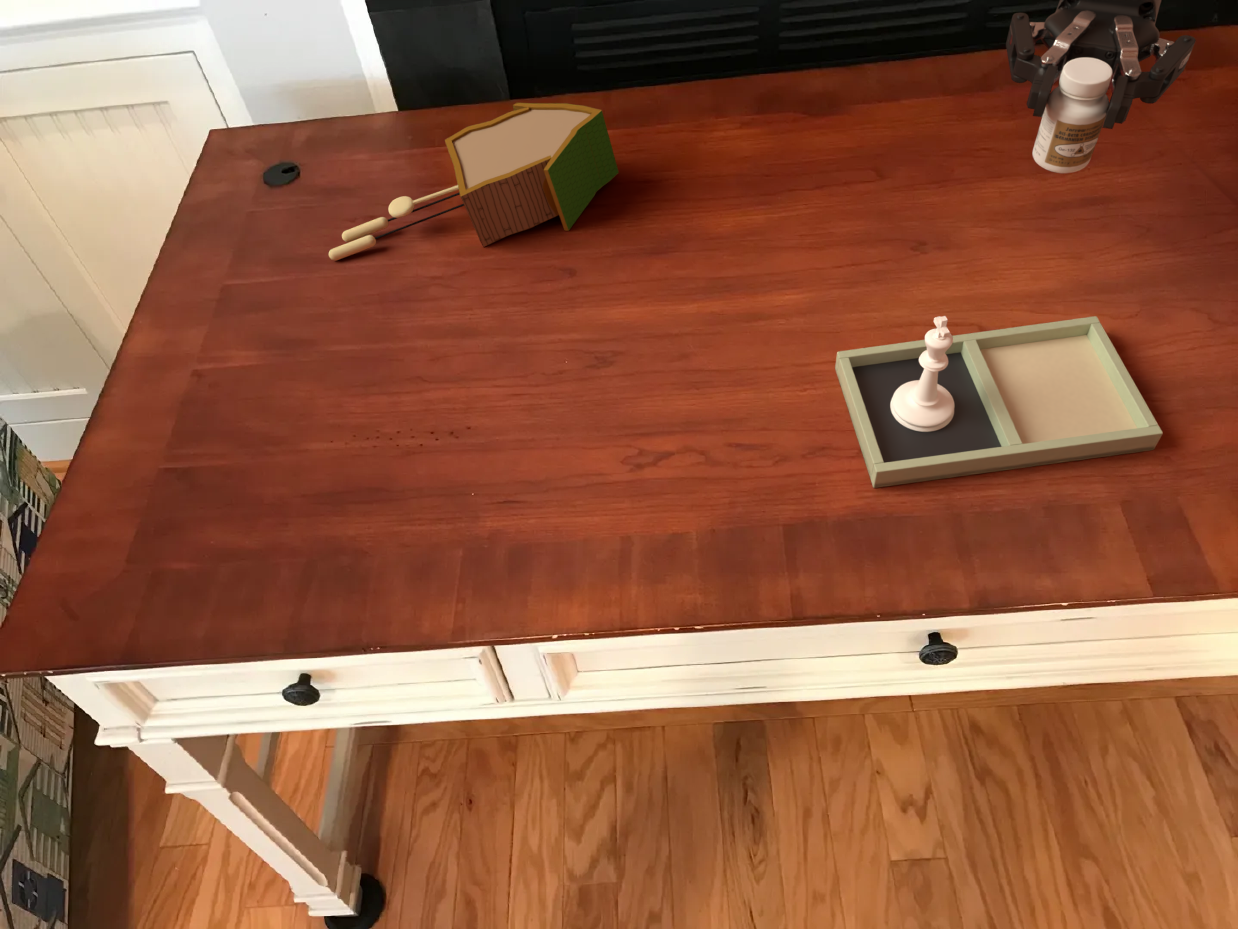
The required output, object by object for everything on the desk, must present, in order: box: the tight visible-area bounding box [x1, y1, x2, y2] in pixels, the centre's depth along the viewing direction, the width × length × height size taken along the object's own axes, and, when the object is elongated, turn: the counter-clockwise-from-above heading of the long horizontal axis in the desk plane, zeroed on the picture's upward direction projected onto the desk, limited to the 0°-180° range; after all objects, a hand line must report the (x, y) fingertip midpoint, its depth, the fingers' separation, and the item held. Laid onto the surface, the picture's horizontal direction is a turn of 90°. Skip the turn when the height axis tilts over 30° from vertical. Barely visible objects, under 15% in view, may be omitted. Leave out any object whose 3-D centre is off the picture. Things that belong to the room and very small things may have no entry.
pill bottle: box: [1031, 57, 1112, 174], centre depth 75 cm, size 4×4×8 cm
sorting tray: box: [834, 315, 1164, 489], centre depth 78 cm, size 22×13×2 cm, turn 95°
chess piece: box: [890, 315, 954, 432], centre depth 74 cm, size 5×5×10 cm
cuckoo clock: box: [328, 102, 620, 262], centre depth 97 cm, size 12×8×30 cm
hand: (1075, 111), depth 72 cm, fingers closed on pill bottle, 4 cm apart
